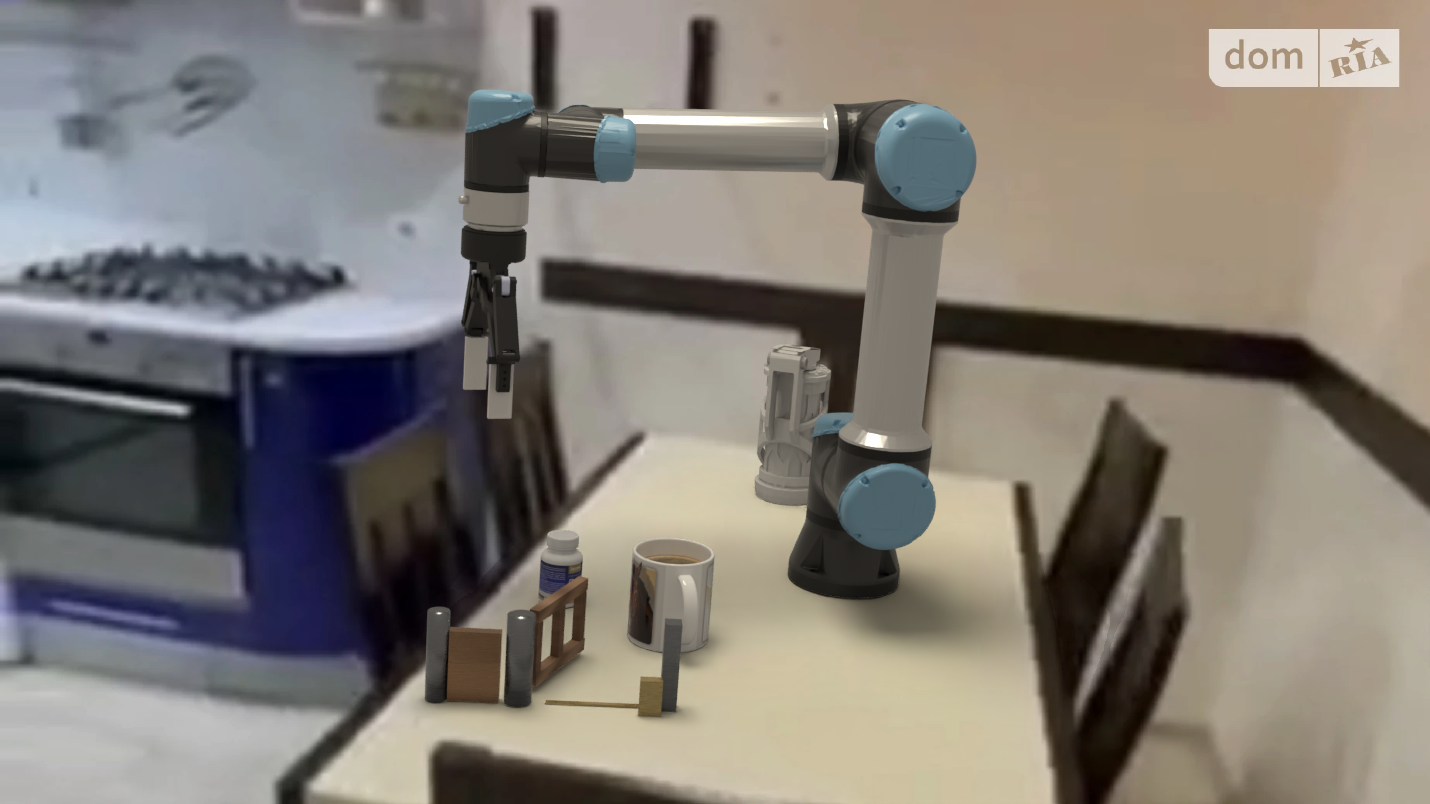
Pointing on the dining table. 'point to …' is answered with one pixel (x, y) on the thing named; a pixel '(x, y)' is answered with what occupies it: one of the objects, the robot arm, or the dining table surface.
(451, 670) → the fence
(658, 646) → the mug
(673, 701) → the block
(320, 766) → the dining table surface
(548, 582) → the pill bottle
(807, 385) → the lantern
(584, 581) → the gate
